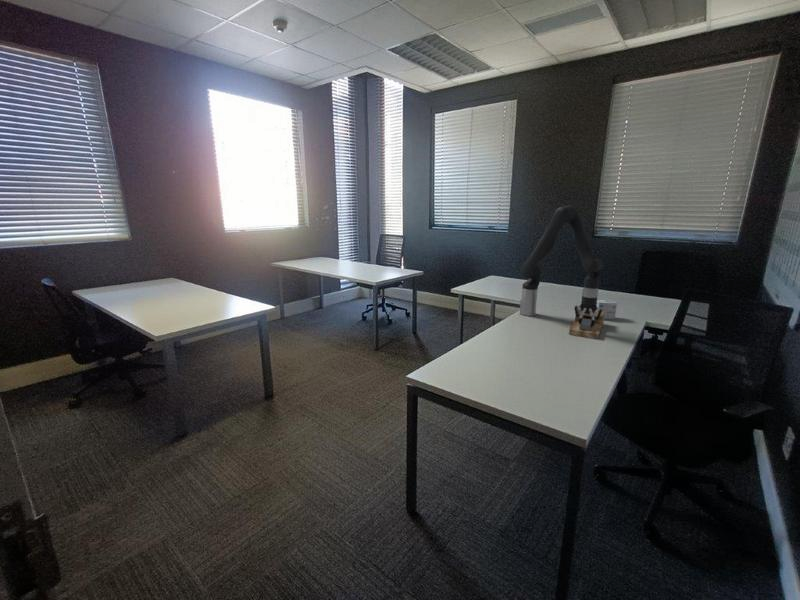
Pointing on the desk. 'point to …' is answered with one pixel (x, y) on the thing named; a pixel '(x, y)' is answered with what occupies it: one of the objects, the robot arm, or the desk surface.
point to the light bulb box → (607, 308)
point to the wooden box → (594, 329)
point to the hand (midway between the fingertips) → (586, 325)
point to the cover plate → (585, 324)
